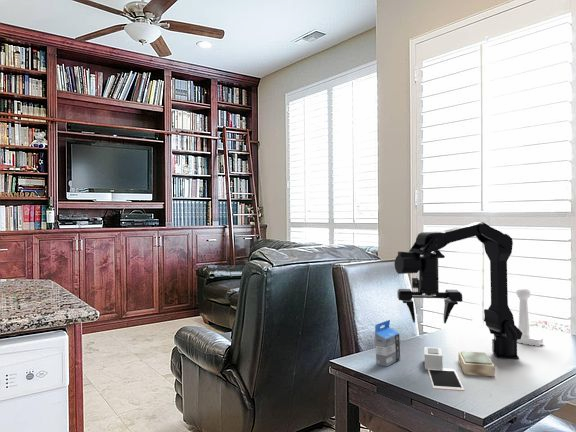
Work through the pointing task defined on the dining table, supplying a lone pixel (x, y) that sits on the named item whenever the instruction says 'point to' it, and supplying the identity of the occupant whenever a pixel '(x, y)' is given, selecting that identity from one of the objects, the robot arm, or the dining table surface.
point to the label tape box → (386, 344)
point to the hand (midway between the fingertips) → (429, 322)
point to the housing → (433, 358)
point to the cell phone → (445, 379)
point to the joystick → (525, 319)
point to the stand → (476, 363)
